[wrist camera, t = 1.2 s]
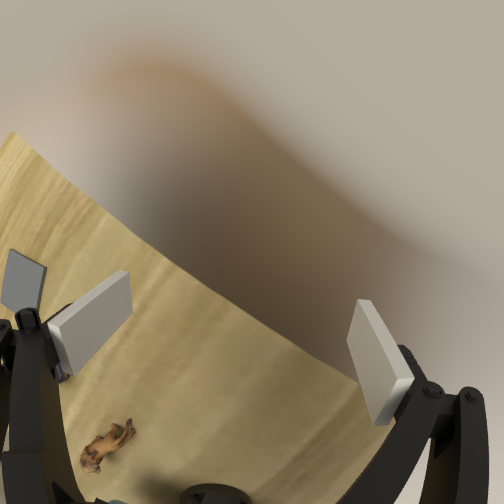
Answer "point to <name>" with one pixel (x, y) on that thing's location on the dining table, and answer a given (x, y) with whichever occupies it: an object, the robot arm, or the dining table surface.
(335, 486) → the dining table surface
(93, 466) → the lion figurine
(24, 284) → the pad
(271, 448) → the dining table surface
